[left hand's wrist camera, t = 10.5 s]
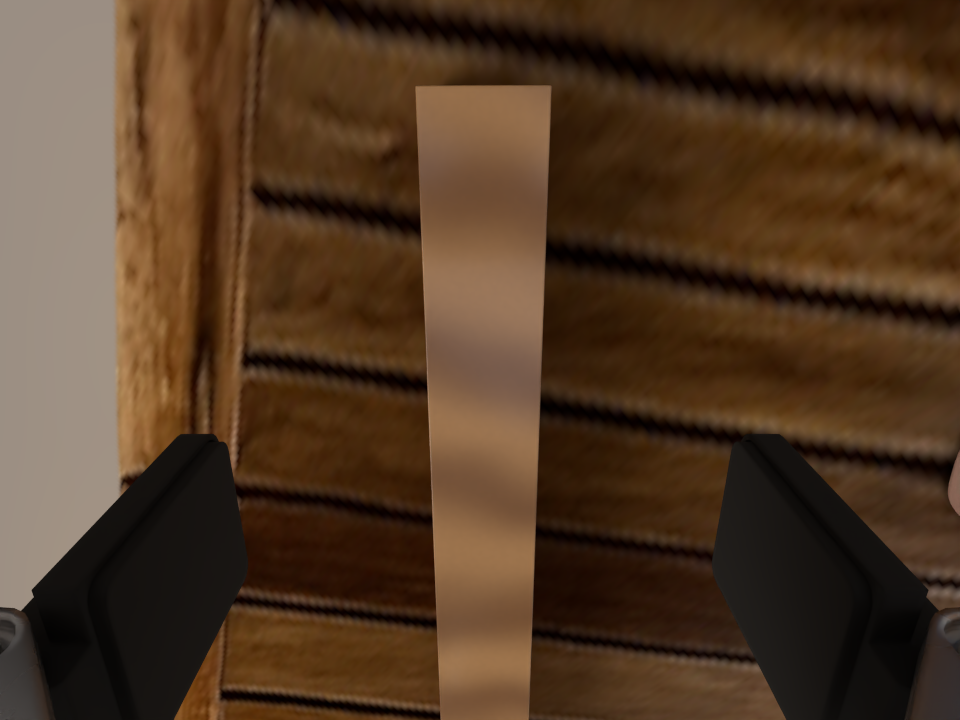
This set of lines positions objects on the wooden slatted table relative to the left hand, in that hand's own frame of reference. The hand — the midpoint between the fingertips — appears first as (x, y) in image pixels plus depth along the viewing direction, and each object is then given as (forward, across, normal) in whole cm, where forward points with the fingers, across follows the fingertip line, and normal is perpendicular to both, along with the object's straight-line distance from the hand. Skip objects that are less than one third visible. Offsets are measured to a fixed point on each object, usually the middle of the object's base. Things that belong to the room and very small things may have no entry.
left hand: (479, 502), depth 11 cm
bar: (+21, 0, -29) cm, 35 cm away
